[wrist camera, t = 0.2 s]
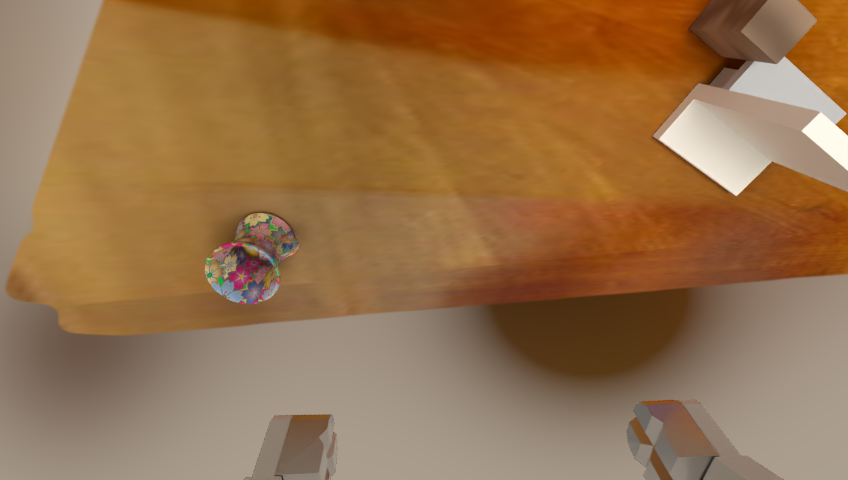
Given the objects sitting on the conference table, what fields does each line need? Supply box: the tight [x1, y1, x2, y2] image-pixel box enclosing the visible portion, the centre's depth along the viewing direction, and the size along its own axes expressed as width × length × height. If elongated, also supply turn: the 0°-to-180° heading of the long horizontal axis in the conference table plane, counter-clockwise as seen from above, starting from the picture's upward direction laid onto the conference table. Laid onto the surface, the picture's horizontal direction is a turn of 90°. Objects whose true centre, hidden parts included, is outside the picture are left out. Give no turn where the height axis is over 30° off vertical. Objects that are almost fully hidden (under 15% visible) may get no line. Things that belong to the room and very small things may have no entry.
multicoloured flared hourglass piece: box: [205, 213, 300, 304], centre depth 57 cm, size 12×9×11 cm
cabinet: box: [689, 0, 818, 64], centre depth 46 cm, size 6×6×9 cm
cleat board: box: [653, 57, 848, 196], centre depth 48 cm, size 14×16×18 cm
